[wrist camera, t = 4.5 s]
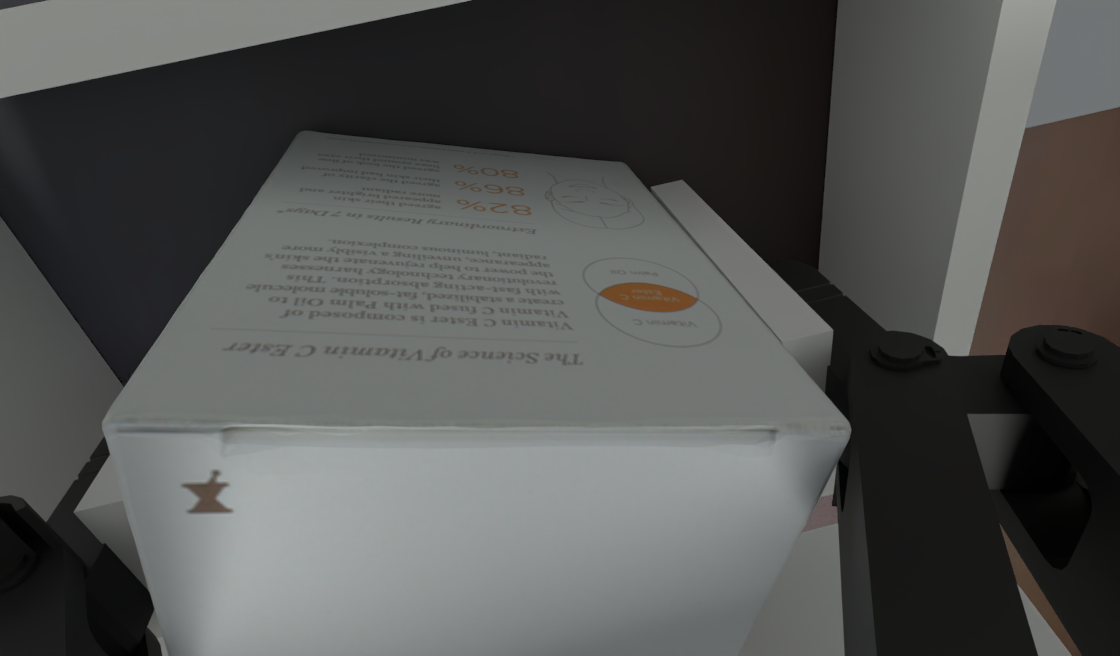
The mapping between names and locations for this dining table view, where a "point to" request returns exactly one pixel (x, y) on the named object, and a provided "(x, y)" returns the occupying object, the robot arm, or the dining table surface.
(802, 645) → the lid
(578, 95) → the dining table surface
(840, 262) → the white open tray
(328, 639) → the small box
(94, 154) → the dining table surface
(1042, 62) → the gray mat
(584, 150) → the dining table surface
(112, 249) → the dining table surface
